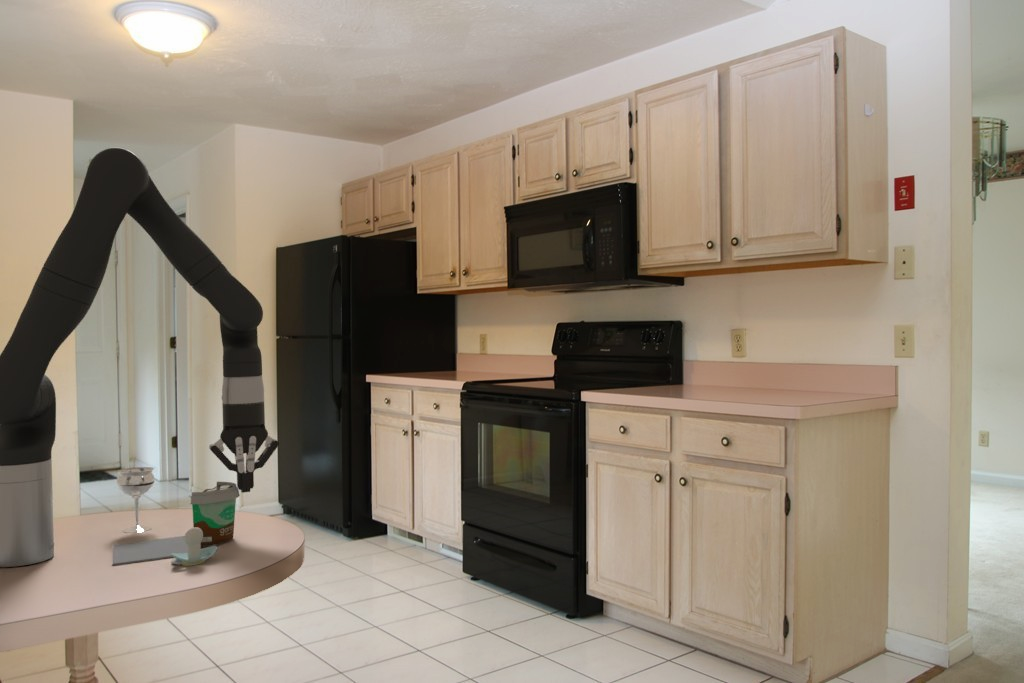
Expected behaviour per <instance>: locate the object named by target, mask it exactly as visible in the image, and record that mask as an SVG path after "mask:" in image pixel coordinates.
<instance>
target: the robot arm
mask: <svg viewBox="0 0 1024 683" xmlns="http://www.w3.org/2000/svg"><path fill="white" fill-rule="evenodd" d="M77 198H78V199H77V201H76V203H75V206H74V209H73V210H72V214H71V216H70V218H69V219H68V221H67V223H66V225H65V226H64V227H63V230H62V231H61V232H60V234H59V236H58V237H57V240H56V241H55V243H54V245H53V247H52V248H51V251H50V252H49V254H48V256H47V258H46V260H45V261H44V263H43V266H42V267H41V270H40V272H39V274H38V276H37V277H36V278H37V279H36V281H35V282H34V284H33V286H32V290H31V292H30V294H29V296H28V299H27V301H26V303H25V305H24V307H23V310H22V312H21V313H20V315H19V318H18V320H17V322H16V325H15V327H14V329H13V331H12V334H11V336H10V337H9V340H8V341H7V343H6V345H5V347H4V348H3V350H2V352H1V354H0V568H8V567H9V568H10V567H12V568H13V567H21V566H27V565H28V566H29V565H33V564H37V563H41V562H44V561H47V560H50V559H51V558H53V557H54V556H55V541H54V540H55V538H54V537H55V536H54V505H53V504H54V502H53V501H54V498H53V468H52V467H53V466H52V464H53V460H52V449H53V446H54V444H55V441H56V434H57V432H56V430H57V427H56V426H57V424H56V423H57V396H56V390H55V386H54V385H53V382H52V380H51V379H50V378H49V377H48V376H47V375H46V371H47V370H48V367H49V365H50V363H51V361H52V360H53V357H54V356H55V354H56V352H57V351H58V349H59V348H60V347H61V345H62V344H64V343H65V342H64V341H66V340H67V339H68V337H69V336H71V334H72V333H73V332H74V331H75V329H76V328H78V326H79V325H80V324H81V322H82V321H83V320H84V318H85V317H86V315H87V314H88V312H89V310H90V309H91V306H92V305H93V303H94V301H95V298H96V296H97V294H98V291H99V289H100V288H101V285H102V283H103V279H104V277H105V275H106V272H107V269H108V264H109V261H110V256H111V253H112V249H113V244H114V241H115V238H116V235H117V232H118V230H119V228H120V226H121V224H122V222H123V221H124V219H125V217H126V215H128V216H130V217H131V218H132V219H133V220H134V221H135V222H136V223H138V225H139V226H140V227H142V229H143V230H144V231H145V232H146V233H147V234H148V236H149V237H150V238H151V239H152V240H153V242H154V243H155V245H156V246H157V247H158V248H159V249H160V251H161V252H162V254H163V256H165V258H166V259H167V261H168V262H170V264H171V265H172V266H173V268H174V269H175V270H176V272H178V274H180V276H181V277H182V278H183V279H184V281H186V282H187V284H188V285H189V286H190V287H192V289H193V290H194V291H195V292H196V293H197V294H199V295H200V297H203V298H204V299H206V300H207V301H208V302H209V305H210V304H211V306H212V307H213V309H215V310H216V311H217V313H218V314H219V330H220V335H221V336H220V337H221V343H222V376H223V377H222V387H221V388H222V389H221V402H222V403H221V406H222V407H221V408H222V431H221V433H220V436H219V439H218V440H217V441H215V442H214V443H212V444H210V445H209V447H208V448H209V450H210V451H211V452H212V453H213V455H215V457H216V458H217V459H218V460H219V461H220V462H221V463H222V464H223V465H224V466H225V467H226V469H228V470H229V471H232V472H235V473H236V486H237V487H238V490H239V491H240V492H241V493H242V494H243V493H250V492H251V489H254V486H255V485H254V484H255V482H254V477H255V476H254V475H255V474H254V472H255V471H256V470H258V469H261V468H264V466H265V465H266V463H267V462H268V461H269V459H270V458H271V456H272V455H273V454H274V453H275V451H276V449H277V448H278V447H279V445H280V442H279V440H277V439H274V438H273V437H271V436H269V432H268V430H267V428H266V423H265V422H266V421H265V420H266V418H265V416H266V415H265V413H266V412H265V387H264V386H265V385H264V380H263V361H262V360H263V358H262V357H263V356H262V351H261V349H260V346H259V343H258V342H259V340H258V327H259V326H260V324H261V323H262V321H263V318H264V310H263V307H262V305H261V303H260V301H259V299H257V297H256V296H255V295H254V294H253V293H252V292H251V291H250V290H249V289H248V288H247V287H246V286H245V285H244V284H242V283H241V281H239V280H238V279H237V278H236V277H235V276H234V275H232V273H231V272H230V271H229V270H228V269H227V267H226V266H225V265H224V264H223V262H222V261H221V260H220V259H219V257H218V256H217V255H216V254H215V253H214V252H213V251H212V249H211V248H210V247H209V246H208V245H207V244H206V243H205V242H204V241H203V240H202V239H201V237H199V235H198V234H197V233H195V232H194V231H193V230H192V229H191V227H189V226H188V224H186V222H184V220H183V219H182V218H181V217H180V216H179V215H178V213H176V212H175V210H173V208H172V207H171V206H170V204H169V203H168V202H167V200H166V199H165V198H164V196H163V195H162V193H161V192H160V190H159V189H158V187H157V186H156V184H155V183H154V181H153V179H152V177H151V176H150V174H149V170H148V168H147V167H146V165H145V163H144V162H143V161H142V159H141V158H140V157H139V156H138V155H136V154H135V153H133V152H132V151H131V150H128V149H126V148H122V147H109V148H106V149H103V150H101V151H99V152H98V153H97V154H95V155H94V156H93V157H92V159H91V161H90V162H89V165H88V167H87V170H86V174H85V176H84V179H83V183H82V186H81V189H80V193H79V195H78V197H77ZM263 444H264V447H265V448H264V450H263V451H262V452H261V454H260V455H259V456H258V458H257V459H256V453H257V452H258V451H259V450H260V448H261V447H262V446H263ZM224 446H226V447H227V449H229V451H230V452H231V453H232V454H234V459H235V463H233V462H232V461H231V460H230V459H229V458H228V457H227V456H226V455H225V453H223V452H224V450H225V447H224ZM244 454H245V456H244Z"/></svg>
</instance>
